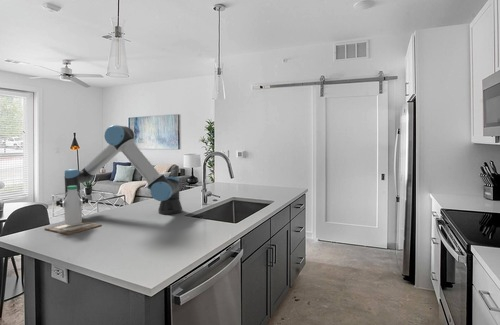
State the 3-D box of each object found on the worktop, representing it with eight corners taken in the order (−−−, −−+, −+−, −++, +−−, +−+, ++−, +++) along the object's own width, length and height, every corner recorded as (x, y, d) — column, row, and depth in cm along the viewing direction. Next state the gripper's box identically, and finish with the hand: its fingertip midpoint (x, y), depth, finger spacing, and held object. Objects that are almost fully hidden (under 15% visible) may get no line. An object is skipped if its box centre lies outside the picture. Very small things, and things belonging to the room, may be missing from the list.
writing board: (101, 225, 159) (101, 224, 159) (68, 235, 143) (68, 233, 143) (78, 221, 168) (78, 219, 168) (44, 229, 152) (44, 228, 152)
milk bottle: (85, 222, 157) (84, 185, 156) (71, 226, 150) (69, 187, 149) (75, 220, 160) (74, 184, 159) (61, 224, 153) (60, 186, 152)
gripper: (92, 202, 175) (95, 209, 156) (51, 205, 165) (49, 214, 145) (92, 189, 175) (94, 195, 155) (51, 192, 164) (48, 199, 145)
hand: (72, 204), depth 150 cm, fingers closed on milk bottle, 7 cm apart
